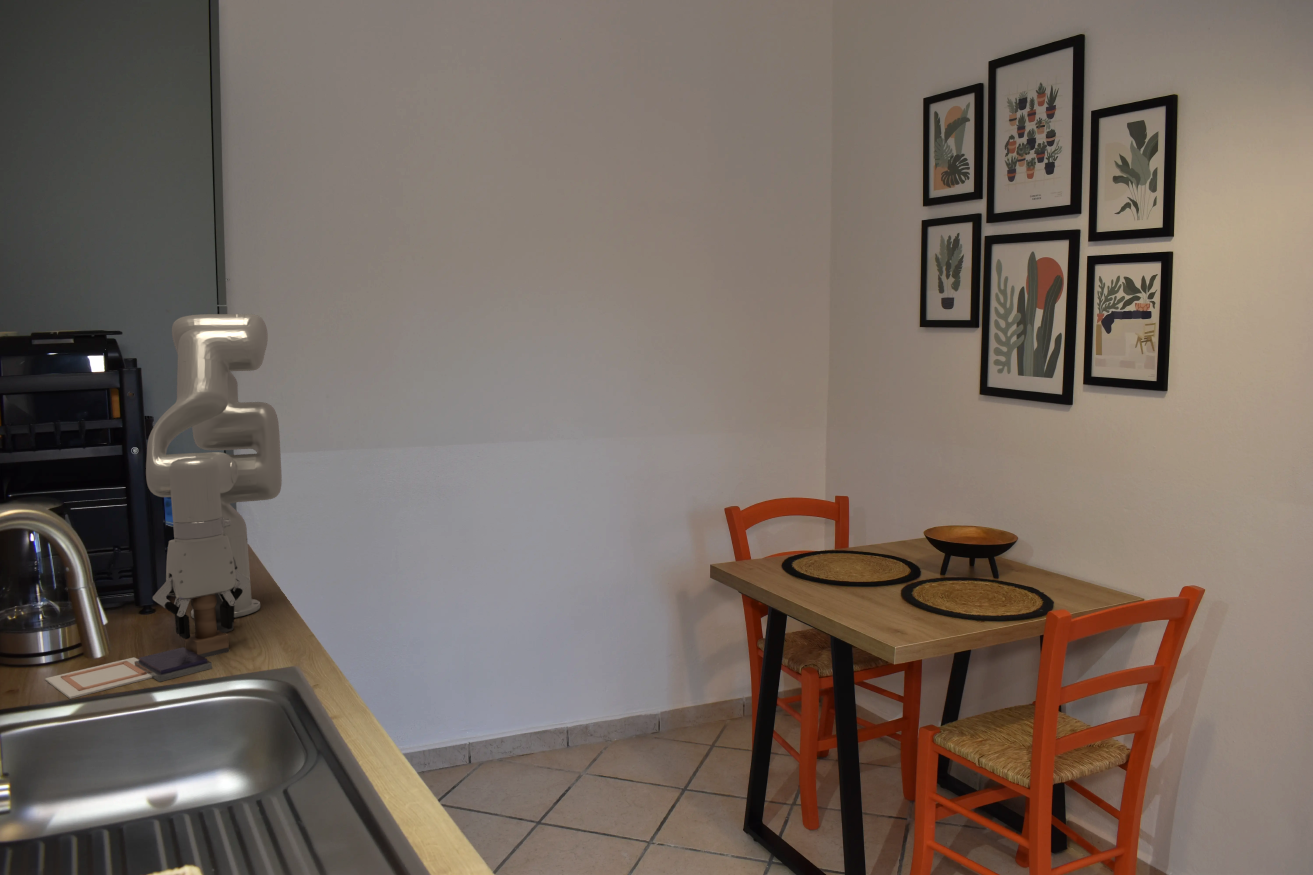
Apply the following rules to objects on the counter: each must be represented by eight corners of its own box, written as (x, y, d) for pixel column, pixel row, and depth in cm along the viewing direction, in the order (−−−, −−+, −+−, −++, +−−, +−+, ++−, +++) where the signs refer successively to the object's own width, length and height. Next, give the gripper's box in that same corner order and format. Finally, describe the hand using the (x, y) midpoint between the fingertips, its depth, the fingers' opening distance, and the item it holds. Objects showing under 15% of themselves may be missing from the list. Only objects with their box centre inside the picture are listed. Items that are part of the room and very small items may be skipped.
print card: (45, 680, 147) (45, 676, 147) (134, 658, 156) (134, 655, 156) (69, 698, 138) (69, 695, 138) (162, 675, 147) (162, 672, 147)
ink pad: (135, 667, 152) (134, 657, 152) (185, 654, 158) (185, 645, 157) (159, 681, 144) (158, 671, 144) (212, 668, 150) (211, 658, 150)
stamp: (185, 653, 159) (181, 590, 158) (216, 645, 162) (212, 584, 161) (197, 659, 155) (193, 595, 154) (229, 651, 159) (224, 589, 158)
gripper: (240, 520, 166) (247, 617, 167) (135, 535, 153) (143, 640, 155) (258, 524, 161) (265, 624, 162) (151, 540, 148) (160, 649, 150)
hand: (206, 631), depth 158 cm, fingers open, 6 cm apart
